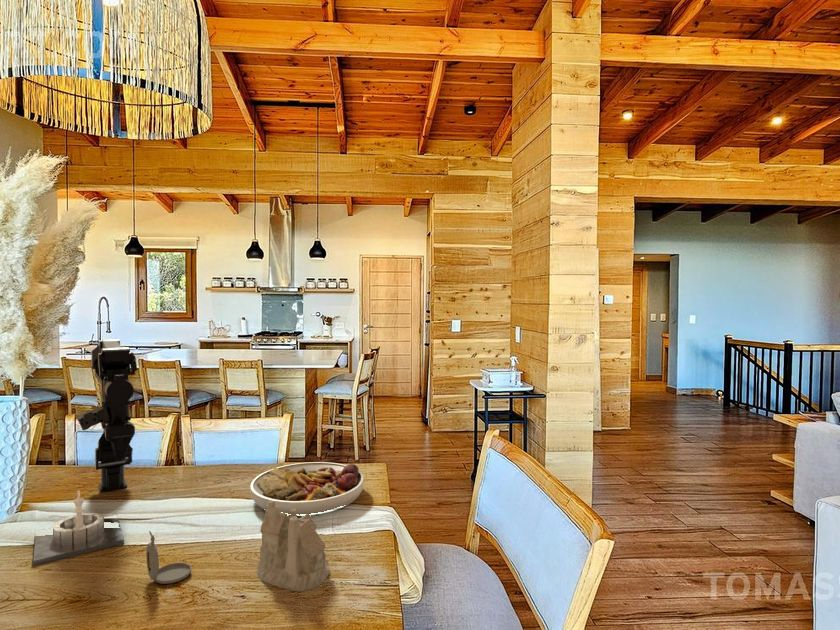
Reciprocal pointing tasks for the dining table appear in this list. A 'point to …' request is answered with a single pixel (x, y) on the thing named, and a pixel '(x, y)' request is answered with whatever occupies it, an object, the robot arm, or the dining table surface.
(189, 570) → the pocket watch
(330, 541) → the dining table surface
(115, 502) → the dining table surface
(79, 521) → the chess piece
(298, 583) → the grey brown rock formation
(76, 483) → the dining table surface
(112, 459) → the robot arm
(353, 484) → the bowl
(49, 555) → the lens mount
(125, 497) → the dining table surface
